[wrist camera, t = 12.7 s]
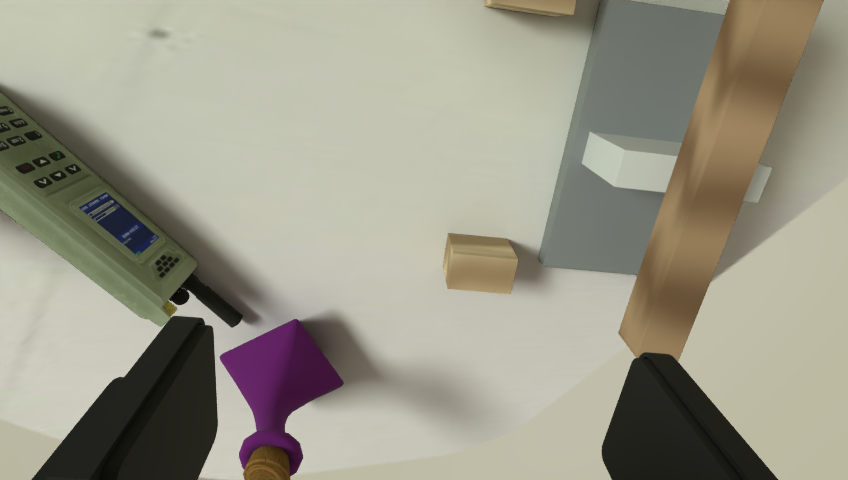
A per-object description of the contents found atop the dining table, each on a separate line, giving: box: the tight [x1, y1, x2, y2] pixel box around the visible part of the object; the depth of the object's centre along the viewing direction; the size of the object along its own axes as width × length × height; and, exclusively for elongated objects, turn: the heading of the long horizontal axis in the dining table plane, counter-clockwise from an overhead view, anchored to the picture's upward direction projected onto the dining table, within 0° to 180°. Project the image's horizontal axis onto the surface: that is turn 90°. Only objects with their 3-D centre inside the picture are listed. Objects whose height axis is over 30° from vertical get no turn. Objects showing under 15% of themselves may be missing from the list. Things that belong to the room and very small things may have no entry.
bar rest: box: [443, 0, 577, 294], centre depth 35 cm, size 23×5×4 cm, turn 173°
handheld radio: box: [0, 92, 243, 327], centre depth 35 cm, size 7×3×25 cm
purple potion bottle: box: [220, 319, 343, 480], centre depth 35 cm, size 8×8×18 cm
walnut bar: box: [618, 0, 824, 361], centre depth 30 cm, size 24×3×3 cm, turn 173°
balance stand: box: [538, 0, 772, 275], centre depth 35 cm, size 20×12×8 cm, turn 173°
